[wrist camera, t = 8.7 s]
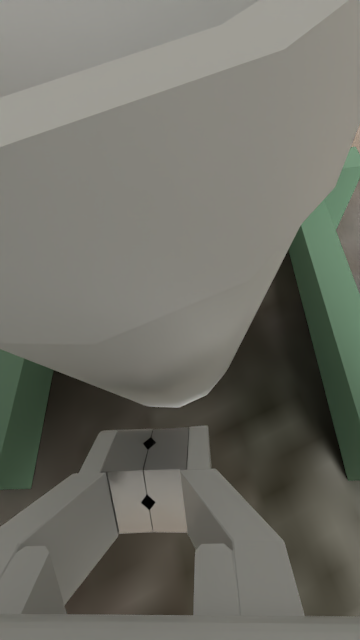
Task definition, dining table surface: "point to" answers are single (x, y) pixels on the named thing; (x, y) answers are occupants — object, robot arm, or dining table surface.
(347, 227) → the dining table surface
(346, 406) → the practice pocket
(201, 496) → the robot arm
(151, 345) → the foam cup
